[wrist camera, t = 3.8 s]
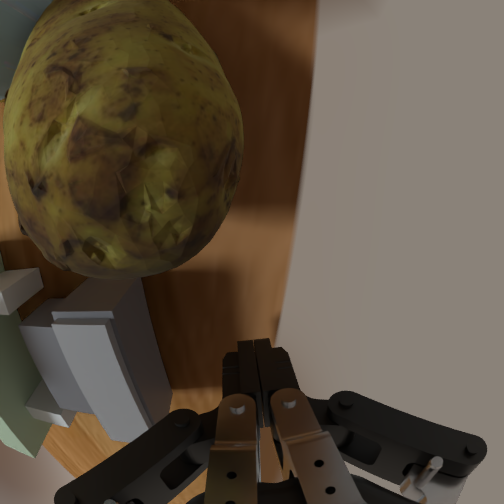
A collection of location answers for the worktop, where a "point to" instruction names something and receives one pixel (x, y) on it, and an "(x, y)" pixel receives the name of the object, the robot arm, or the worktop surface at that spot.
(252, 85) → the worktop surface
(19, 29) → the bottle
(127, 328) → the grey stepped block
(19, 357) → the green block cluster
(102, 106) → the potato
